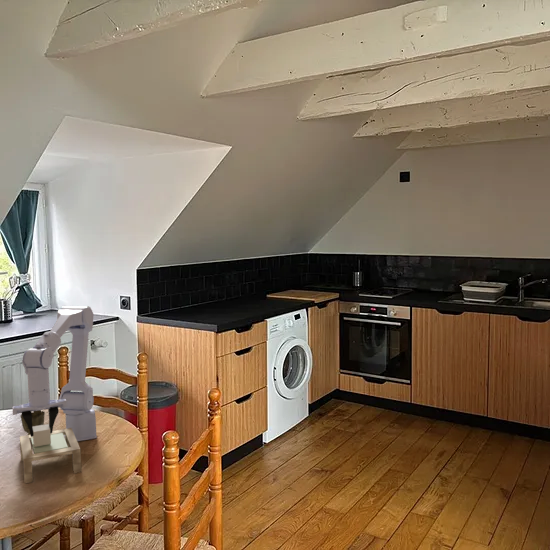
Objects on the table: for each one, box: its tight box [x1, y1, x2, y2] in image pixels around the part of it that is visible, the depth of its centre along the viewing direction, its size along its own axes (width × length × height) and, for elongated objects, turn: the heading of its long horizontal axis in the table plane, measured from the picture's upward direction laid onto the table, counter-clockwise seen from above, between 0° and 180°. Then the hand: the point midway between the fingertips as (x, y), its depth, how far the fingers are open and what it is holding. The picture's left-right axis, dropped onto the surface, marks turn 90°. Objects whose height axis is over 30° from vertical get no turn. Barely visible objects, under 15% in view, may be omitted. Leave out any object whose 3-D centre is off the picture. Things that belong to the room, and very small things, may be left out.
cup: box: [20, 410, 46, 435], centre depth 190 cm, size 8×7×8 cm
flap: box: [30, 433, 70, 456], centre depth 168 cm, size 10×12×3 cm
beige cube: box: [32, 423, 51, 447], centre depth 167 cm, size 4×4×4 cm
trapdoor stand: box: [19, 428, 82, 484], centre depth 168 cm, size 15×18×7 cm
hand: (41, 433), depth 167 cm, fingers closed on beige cube, 4 cm apart
